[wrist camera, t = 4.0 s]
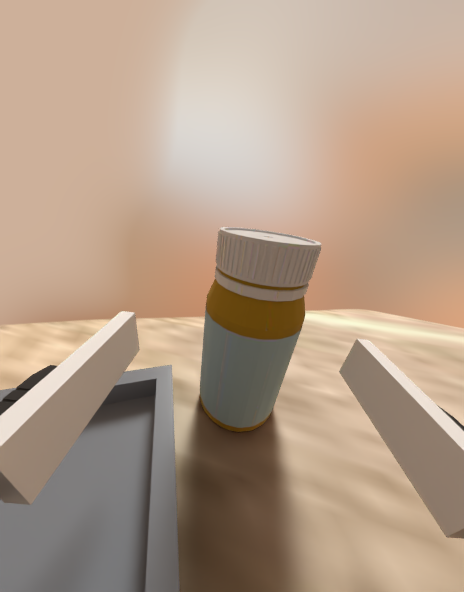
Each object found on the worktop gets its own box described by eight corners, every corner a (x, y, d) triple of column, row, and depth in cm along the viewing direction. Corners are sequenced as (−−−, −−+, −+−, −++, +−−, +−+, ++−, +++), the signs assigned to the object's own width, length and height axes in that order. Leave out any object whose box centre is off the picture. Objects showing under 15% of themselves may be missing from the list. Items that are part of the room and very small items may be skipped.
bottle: (279, 385, 19) (329, 240, 13) (257, 456, 13) (332, 254, 7) (222, 358, 21) (240, 225, 15) (183, 407, 16) (186, 226, 9)
